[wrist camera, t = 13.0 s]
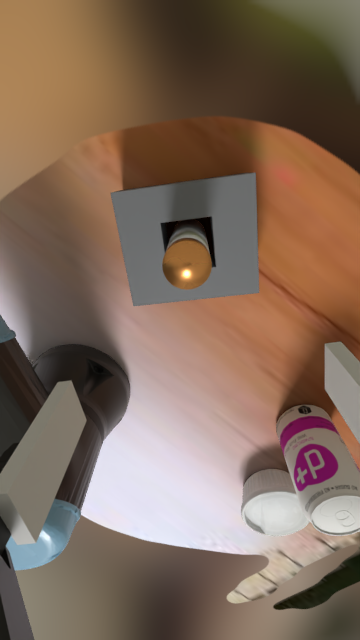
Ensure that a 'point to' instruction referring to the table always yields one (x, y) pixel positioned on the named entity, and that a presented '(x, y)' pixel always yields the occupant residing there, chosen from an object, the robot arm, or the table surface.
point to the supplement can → (321, 470)
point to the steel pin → (187, 256)
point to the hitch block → (181, 204)
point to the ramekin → (272, 504)
